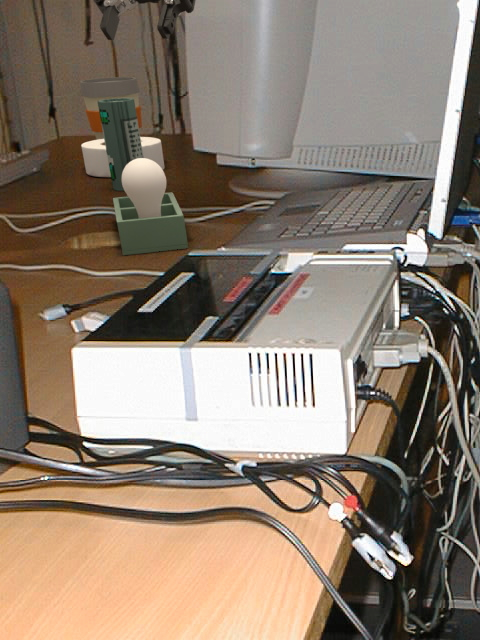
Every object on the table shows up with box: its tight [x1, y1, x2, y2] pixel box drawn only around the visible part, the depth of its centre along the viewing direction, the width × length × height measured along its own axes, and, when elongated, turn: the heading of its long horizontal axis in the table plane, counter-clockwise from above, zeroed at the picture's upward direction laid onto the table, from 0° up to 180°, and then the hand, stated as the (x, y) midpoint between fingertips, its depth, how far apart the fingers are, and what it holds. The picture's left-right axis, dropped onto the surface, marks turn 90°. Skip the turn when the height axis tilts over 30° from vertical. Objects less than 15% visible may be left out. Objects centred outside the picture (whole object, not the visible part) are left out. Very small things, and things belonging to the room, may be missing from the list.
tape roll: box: [80, 136, 166, 178], centre depth 184 cm, size 16×16×6 cm
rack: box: [112, 192, 189, 256], centre depth 133 cm, size 17×9×5 cm, turn 16°
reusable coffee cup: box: [79, 76, 143, 140], centre depth 202 cm, size 13×13×15 cm
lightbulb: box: [122, 158, 167, 219], centre depth 128 cm, size 6×6×11 cm
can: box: [97, 98, 144, 192], centre depth 165 cm, size 6×6×15 cm
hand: (134, 35), depth 123 cm, fingers open, 8 cm apart
